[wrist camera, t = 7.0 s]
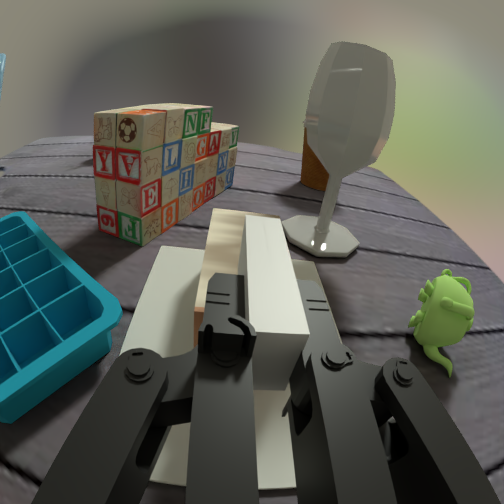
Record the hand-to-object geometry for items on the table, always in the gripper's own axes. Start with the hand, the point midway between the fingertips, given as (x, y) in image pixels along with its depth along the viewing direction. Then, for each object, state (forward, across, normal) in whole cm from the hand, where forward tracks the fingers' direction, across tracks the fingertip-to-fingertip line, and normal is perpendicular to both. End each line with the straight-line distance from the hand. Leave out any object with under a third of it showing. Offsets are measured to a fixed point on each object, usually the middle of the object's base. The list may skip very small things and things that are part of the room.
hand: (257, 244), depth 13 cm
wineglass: (+16, +9, -8) cm, 20 cm away
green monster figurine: (+1, +15, -8) cm, 17 cm away
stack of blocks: (+22, -8, -8) cm, 25 cm away
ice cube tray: (+1, -18, -8) cm, 20 cm away
